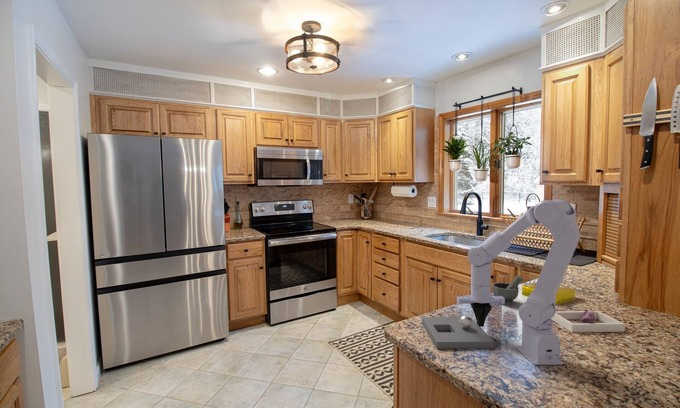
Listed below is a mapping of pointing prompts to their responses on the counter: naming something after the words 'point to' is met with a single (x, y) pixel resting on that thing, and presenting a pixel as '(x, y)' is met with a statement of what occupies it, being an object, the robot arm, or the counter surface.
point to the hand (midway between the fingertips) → (480, 325)
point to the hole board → (455, 333)
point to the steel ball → (465, 322)
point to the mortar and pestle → (507, 290)
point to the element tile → (561, 295)
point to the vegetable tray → (607, 326)
